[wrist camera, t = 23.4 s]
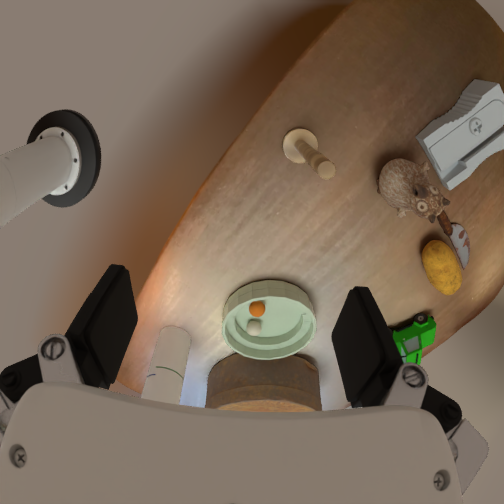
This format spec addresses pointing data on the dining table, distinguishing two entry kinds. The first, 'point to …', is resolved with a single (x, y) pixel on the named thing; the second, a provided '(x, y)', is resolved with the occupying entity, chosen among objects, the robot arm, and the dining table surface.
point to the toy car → (415, 338)
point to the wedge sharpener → (466, 133)
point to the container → (264, 385)
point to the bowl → (269, 320)
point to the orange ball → (257, 308)
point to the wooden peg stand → (307, 152)
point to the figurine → (410, 189)
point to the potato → (441, 267)
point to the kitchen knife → (456, 238)
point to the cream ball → (253, 328)
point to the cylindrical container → (168, 366)
